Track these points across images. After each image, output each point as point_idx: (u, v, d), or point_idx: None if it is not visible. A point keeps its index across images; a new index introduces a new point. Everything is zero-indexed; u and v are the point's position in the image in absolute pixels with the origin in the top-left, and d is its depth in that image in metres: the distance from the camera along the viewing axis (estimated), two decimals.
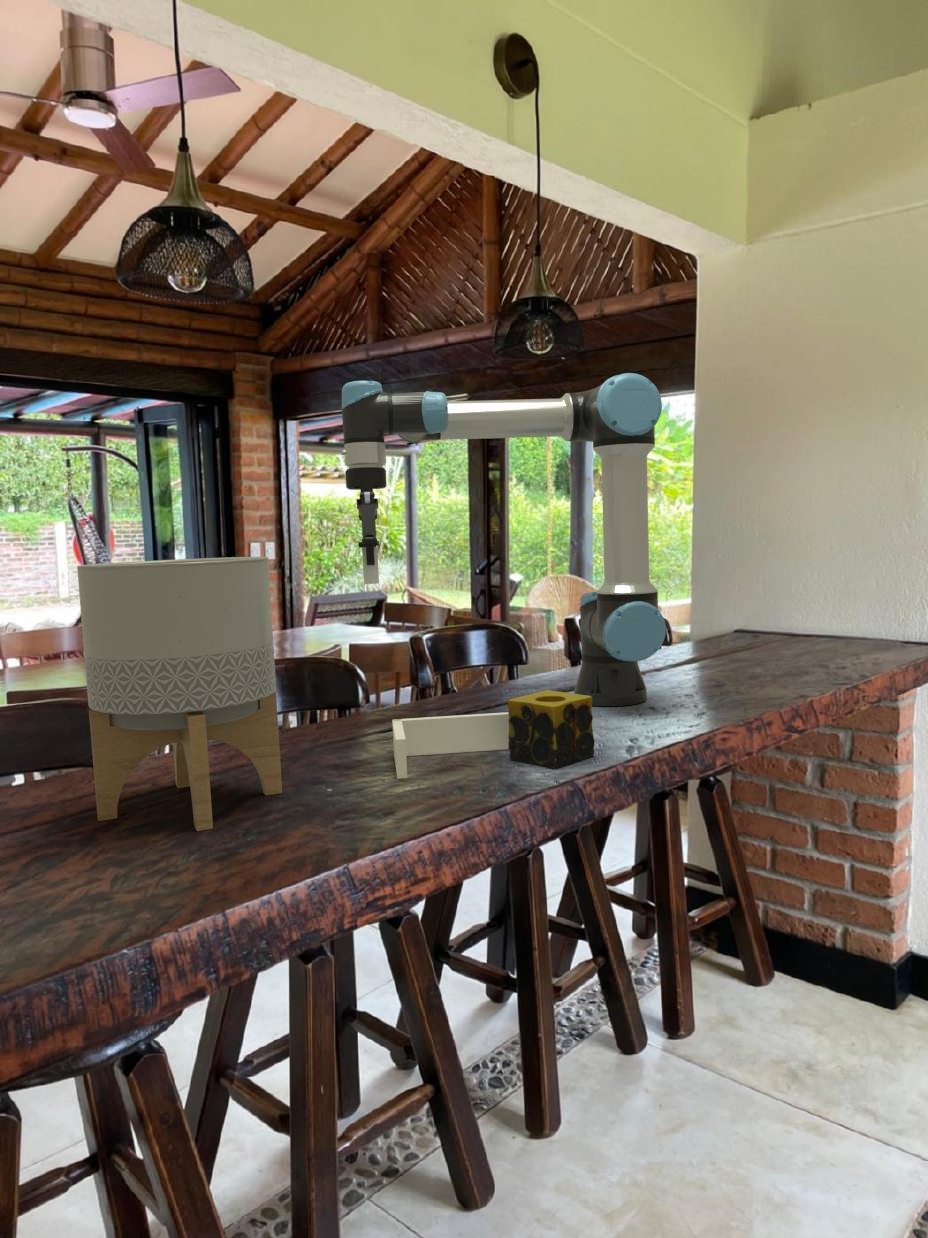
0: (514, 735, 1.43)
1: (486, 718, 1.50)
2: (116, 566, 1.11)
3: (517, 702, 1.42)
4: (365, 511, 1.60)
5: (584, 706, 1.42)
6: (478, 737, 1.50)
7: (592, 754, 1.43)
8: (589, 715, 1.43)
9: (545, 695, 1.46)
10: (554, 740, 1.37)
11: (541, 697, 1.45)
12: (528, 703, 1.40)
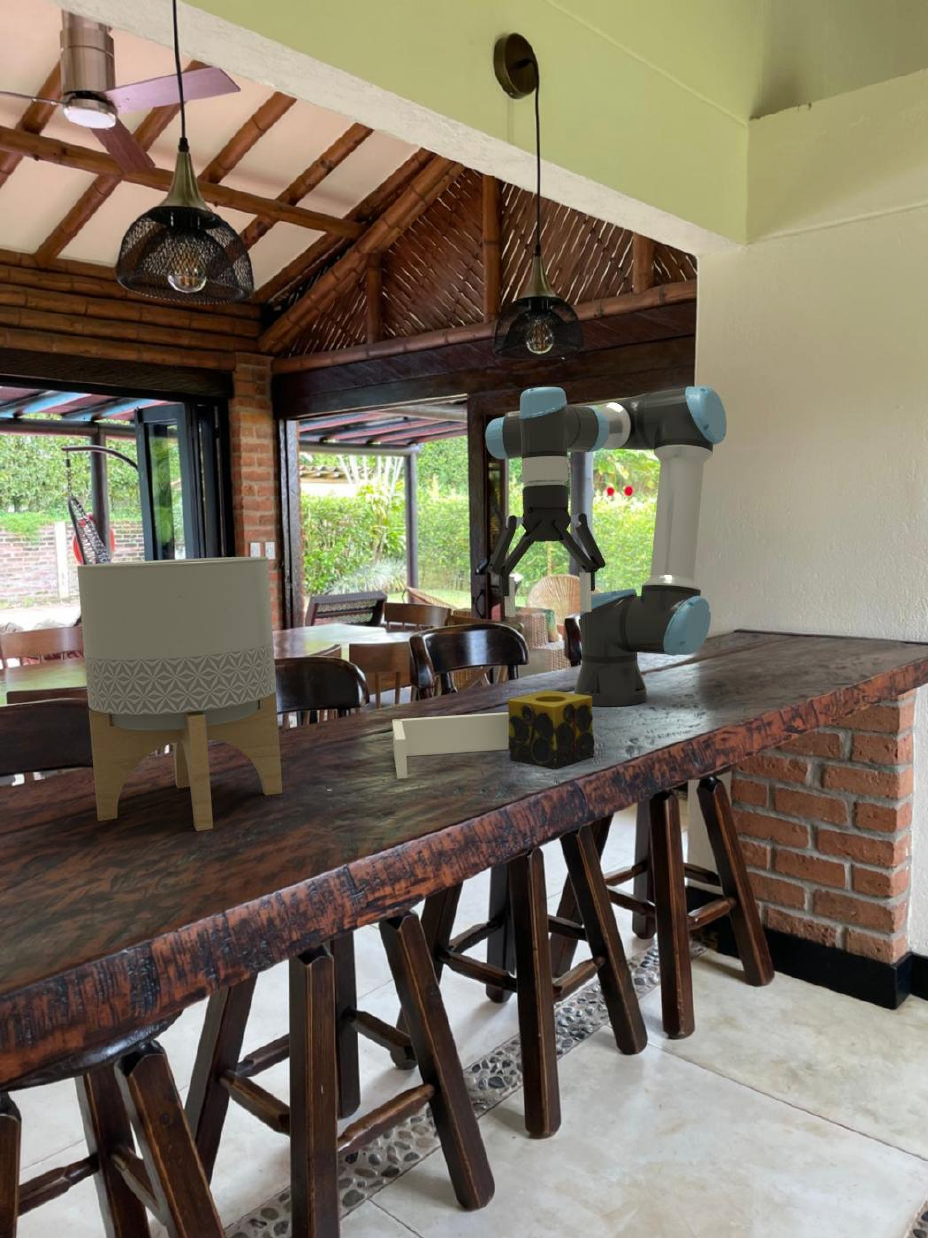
0: (514, 735, 1.43)
1: (486, 718, 1.50)
2: (116, 566, 1.11)
3: (517, 702, 1.42)
4: (501, 537, 1.46)
5: (584, 706, 1.42)
6: (478, 737, 1.50)
7: (592, 754, 1.43)
8: (589, 715, 1.43)
9: (545, 695, 1.46)
10: (554, 740, 1.37)
11: (541, 697, 1.45)
12: (528, 703, 1.40)
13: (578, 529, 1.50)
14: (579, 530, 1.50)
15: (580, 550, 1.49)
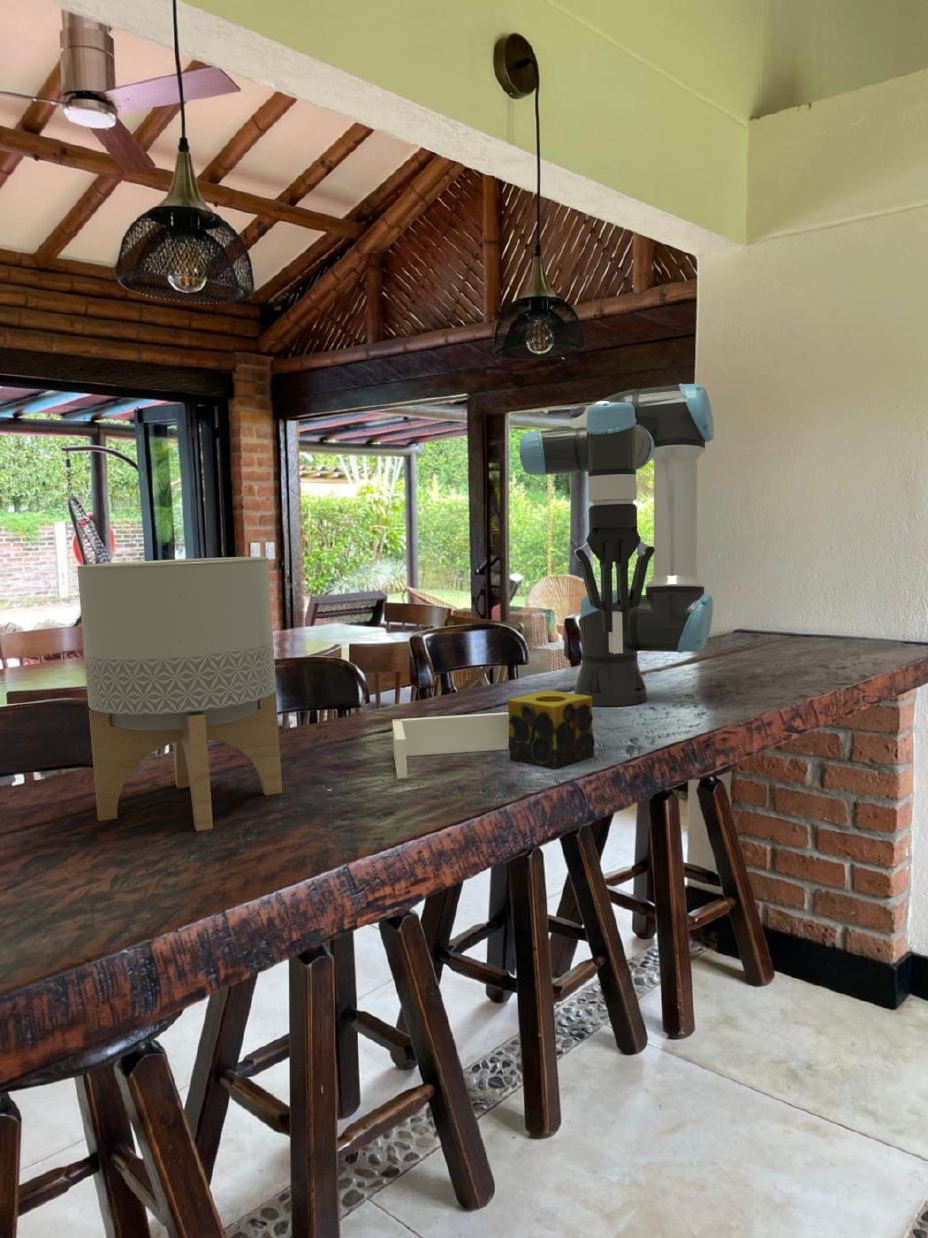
0: (514, 735, 1.43)
1: (486, 718, 1.50)
2: (116, 566, 1.11)
3: (517, 702, 1.42)
4: (583, 572, 1.42)
5: (584, 706, 1.42)
6: (478, 737, 1.50)
7: (592, 754, 1.43)
8: (589, 715, 1.43)
9: (545, 695, 1.46)
10: (554, 740, 1.37)
11: (541, 697, 1.45)
12: (528, 703, 1.40)
13: (639, 559, 1.43)
14: (639, 560, 1.43)
15: (626, 583, 1.42)
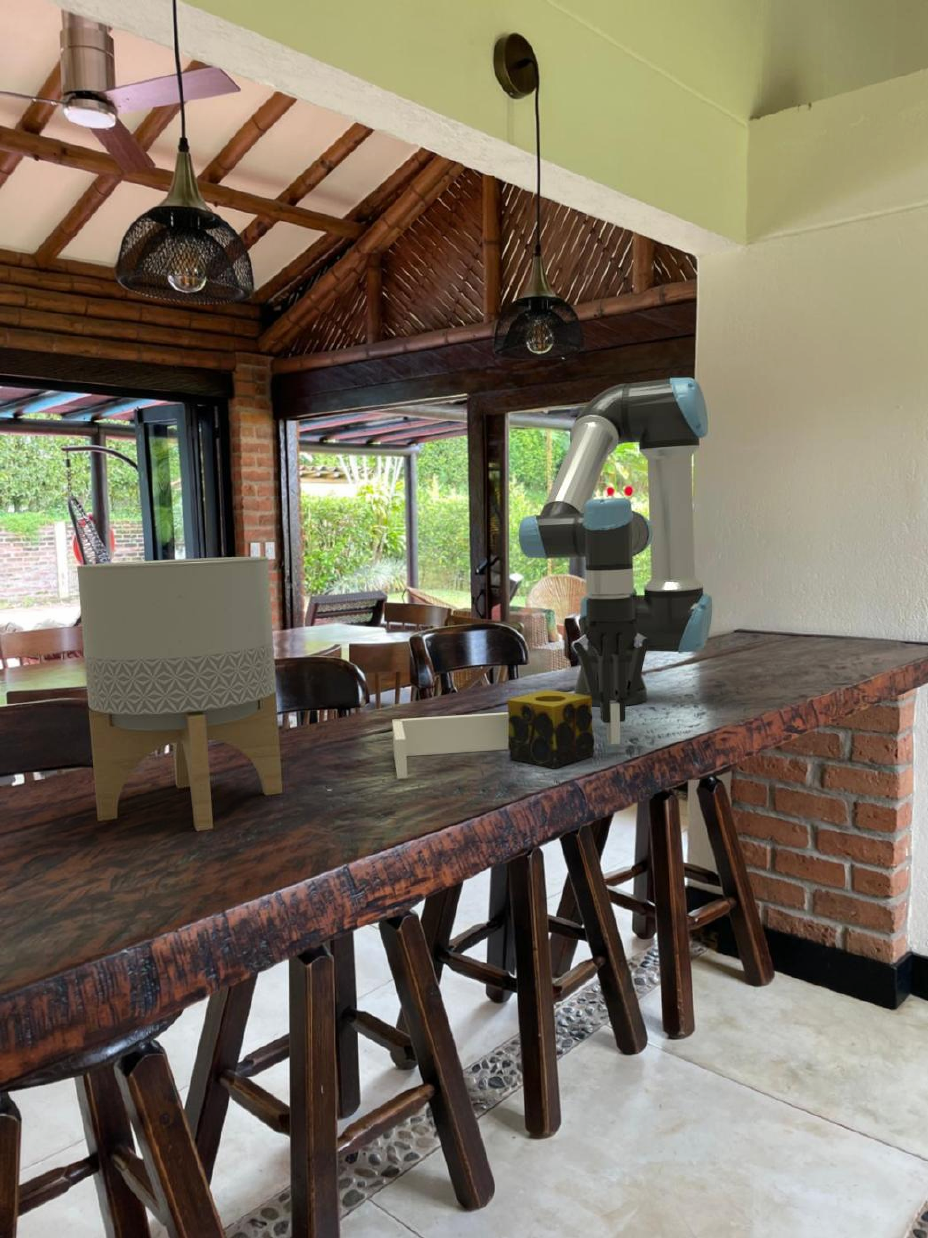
0: (514, 735, 1.43)
1: (486, 718, 1.50)
2: (116, 566, 1.11)
3: (517, 702, 1.42)
4: (580, 664, 1.44)
5: (584, 706, 1.42)
6: (478, 737, 1.50)
7: (592, 754, 1.43)
8: (589, 715, 1.43)
9: (545, 695, 1.46)
10: (553, 740, 1.37)
11: (541, 697, 1.45)
12: (528, 703, 1.40)
13: (636, 650, 1.44)
14: (636, 651, 1.44)
15: (624, 674, 1.43)
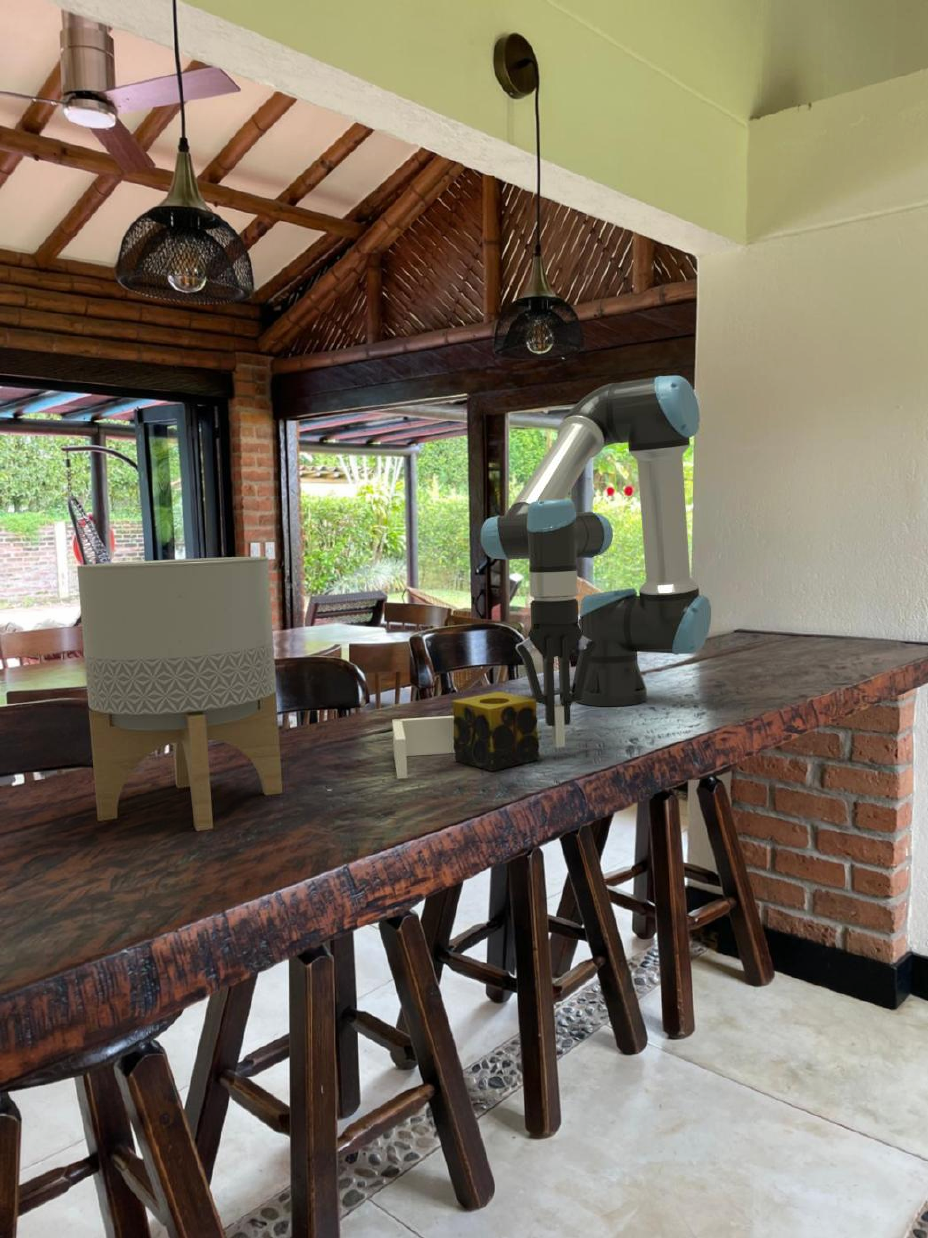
0: (458, 736, 1.43)
1: None
2: (116, 566, 1.11)
3: (460, 703, 1.42)
4: (525, 667, 1.43)
5: (527, 709, 1.41)
6: None
7: (536, 757, 1.42)
8: (534, 718, 1.42)
9: (492, 697, 1.45)
10: (491, 742, 1.37)
11: (487, 699, 1.45)
12: (469, 705, 1.40)
13: (581, 652, 1.43)
14: (581, 653, 1.43)
15: (568, 677, 1.42)
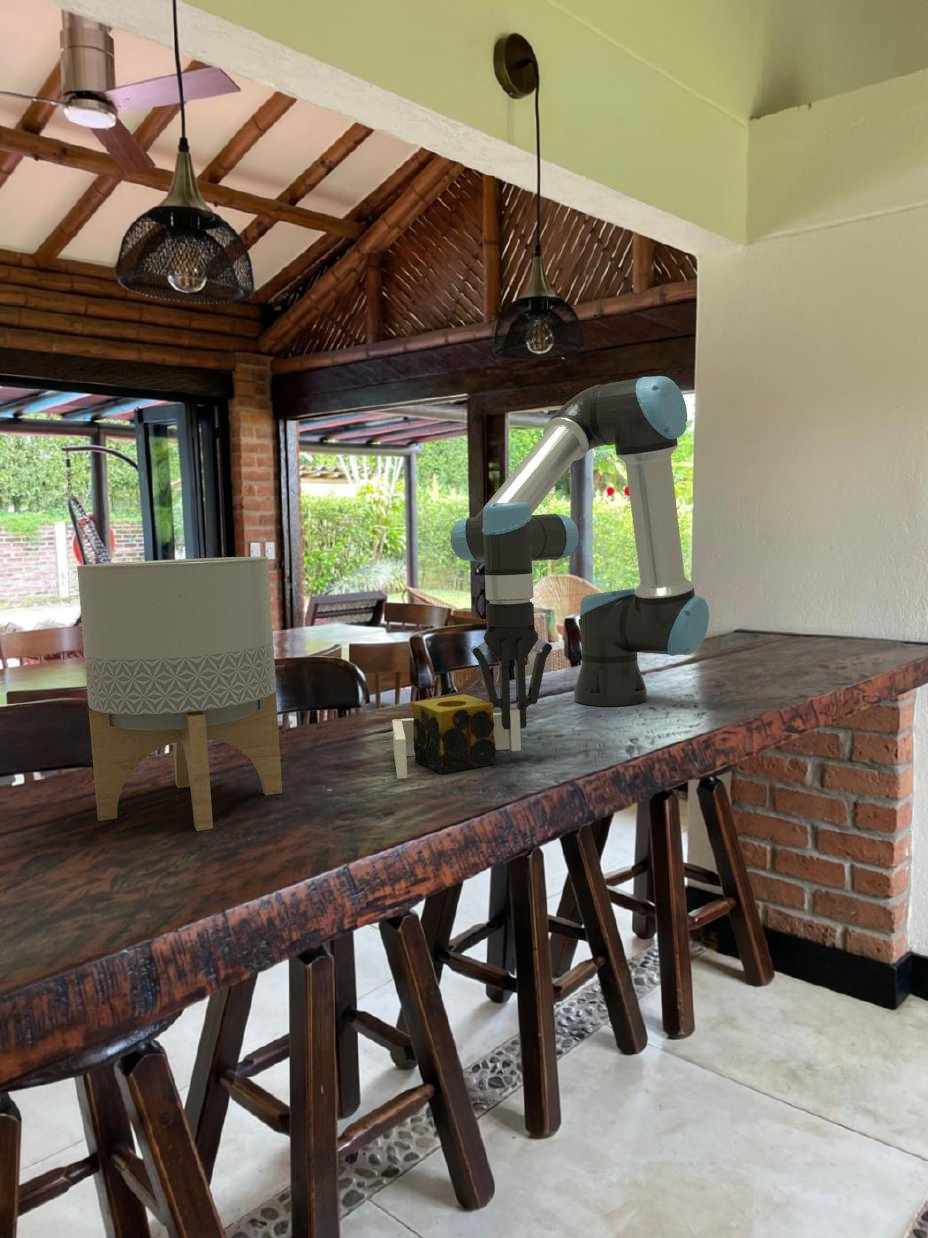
0: (417, 738, 1.44)
1: None
2: (116, 566, 1.11)
3: (417, 705, 1.42)
4: None
5: (483, 713, 1.40)
6: None
7: (493, 762, 1.41)
8: (490, 722, 1.41)
9: (453, 699, 1.45)
10: (440, 745, 1.37)
11: (448, 701, 1.45)
12: (424, 707, 1.41)
13: (537, 655, 1.43)
14: (537, 657, 1.42)
15: (524, 680, 1.41)
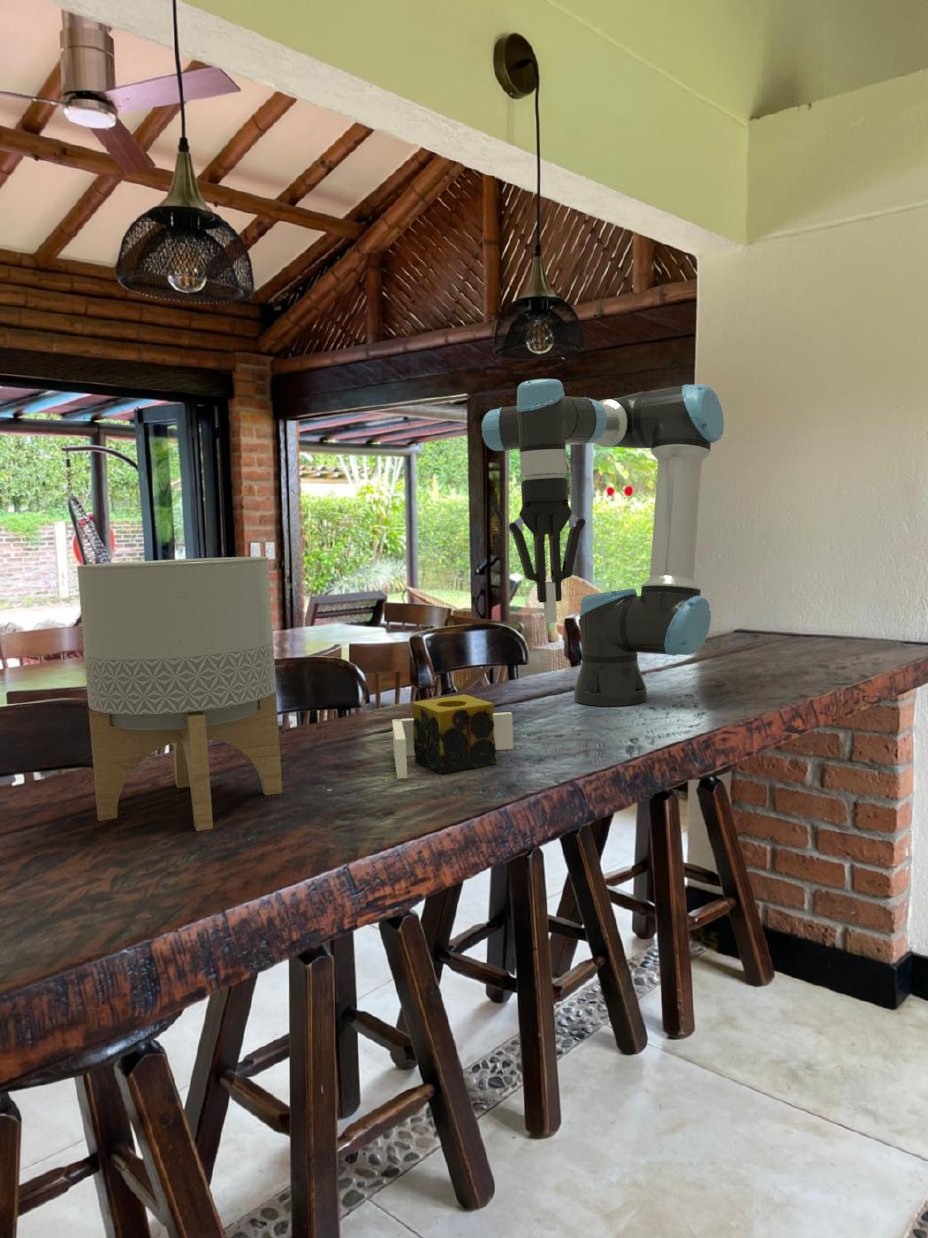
0: (417, 738, 1.44)
1: None
2: (116, 566, 1.11)
3: (417, 705, 1.42)
4: (516, 545, 1.47)
5: (483, 713, 1.40)
6: None
7: (493, 762, 1.41)
8: (490, 722, 1.41)
9: (454, 699, 1.45)
10: (440, 745, 1.37)
11: (448, 701, 1.45)
12: (424, 707, 1.41)
13: (570, 531, 1.48)
14: (571, 532, 1.48)
15: (559, 554, 1.47)
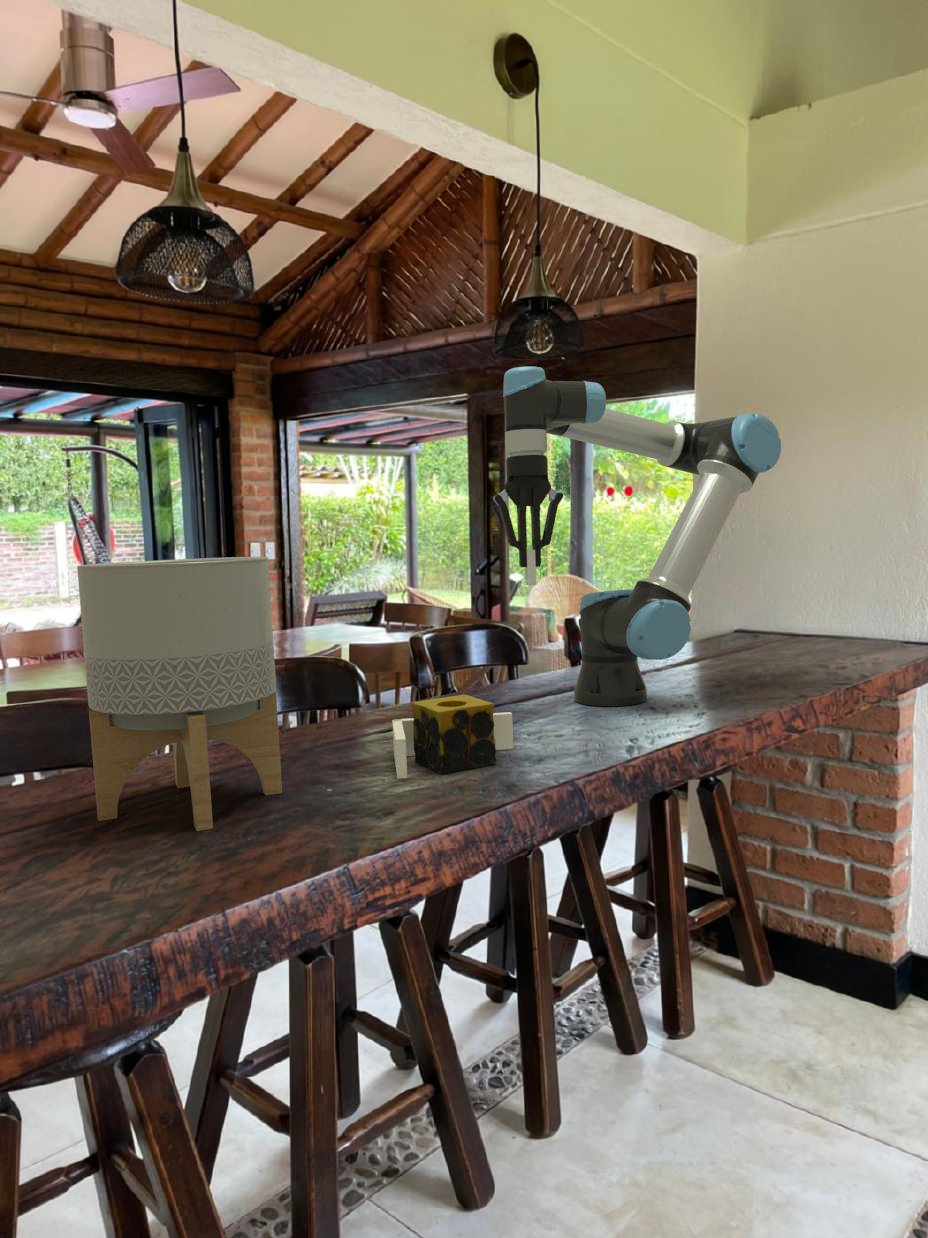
0: (417, 738, 1.44)
1: None
2: (116, 566, 1.11)
3: (417, 705, 1.42)
4: (501, 515, 1.64)
5: (483, 713, 1.40)
6: None
7: (493, 762, 1.41)
8: (490, 722, 1.41)
9: (454, 699, 1.45)
10: (440, 745, 1.37)
11: (448, 701, 1.45)
12: (424, 707, 1.41)
13: (550, 504, 1.65)
14: (550, 504, 1.64)
15: (539, 524, 1.64)
